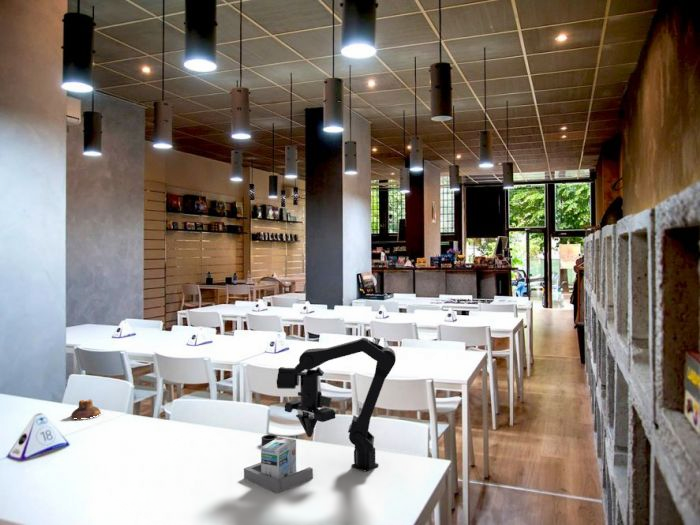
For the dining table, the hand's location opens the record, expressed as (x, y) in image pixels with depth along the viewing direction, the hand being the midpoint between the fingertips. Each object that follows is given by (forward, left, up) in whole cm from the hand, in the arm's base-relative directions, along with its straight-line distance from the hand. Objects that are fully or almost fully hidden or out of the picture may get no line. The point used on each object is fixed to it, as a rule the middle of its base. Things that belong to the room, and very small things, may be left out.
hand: (309, 436), depth 174 cm
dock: (0, +13, -9) cm, 16 cm away
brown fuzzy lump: (+114, +26, -10) cm, 118 cm away
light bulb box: (0, +13, -10) cm, 16 cm away
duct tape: (+25, -4, -10) cm, 28 cm away
